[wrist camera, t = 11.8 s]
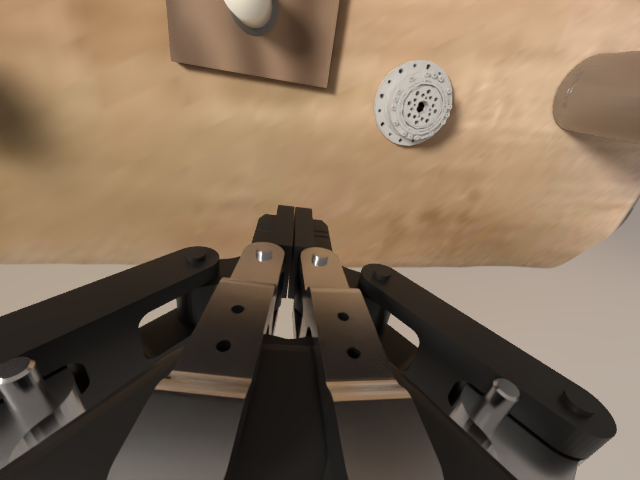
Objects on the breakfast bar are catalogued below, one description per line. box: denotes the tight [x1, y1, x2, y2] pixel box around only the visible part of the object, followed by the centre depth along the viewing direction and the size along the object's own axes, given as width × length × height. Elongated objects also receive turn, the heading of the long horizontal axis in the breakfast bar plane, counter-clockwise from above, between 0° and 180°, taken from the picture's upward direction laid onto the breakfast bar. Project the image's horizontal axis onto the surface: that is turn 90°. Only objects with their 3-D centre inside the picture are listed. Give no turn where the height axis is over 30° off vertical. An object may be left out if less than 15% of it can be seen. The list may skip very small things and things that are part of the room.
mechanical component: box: [374, 60, 452, 146], centre depth 36 cm, size 10×4×10 cm
